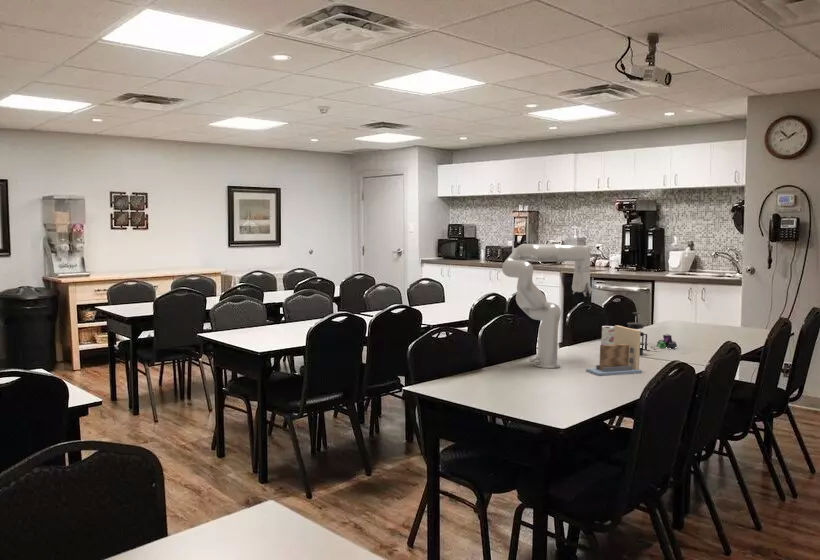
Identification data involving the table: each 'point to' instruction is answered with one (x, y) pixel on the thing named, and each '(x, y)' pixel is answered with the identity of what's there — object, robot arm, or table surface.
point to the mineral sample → (667, 342)
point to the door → (614, 355)
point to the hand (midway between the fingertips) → (581, 302)
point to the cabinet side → (633, 340)
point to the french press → (640, 326)
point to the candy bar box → (607, 335)
